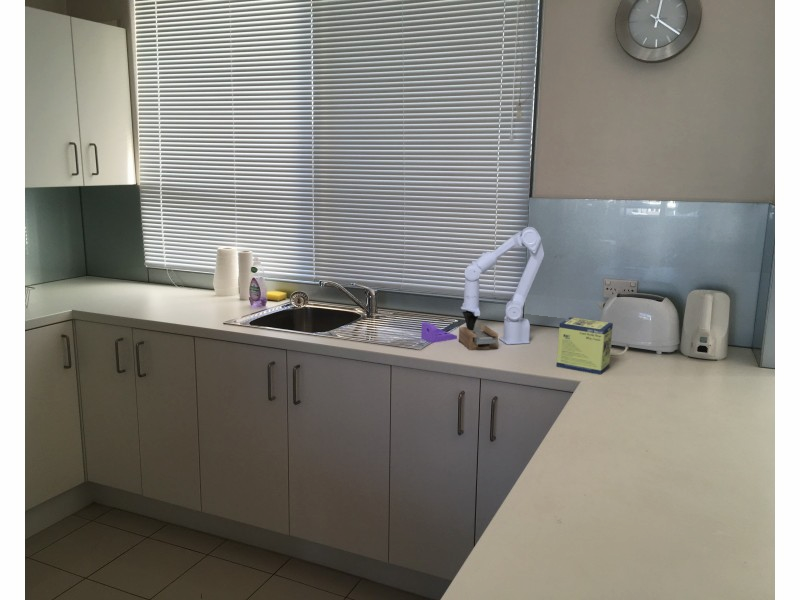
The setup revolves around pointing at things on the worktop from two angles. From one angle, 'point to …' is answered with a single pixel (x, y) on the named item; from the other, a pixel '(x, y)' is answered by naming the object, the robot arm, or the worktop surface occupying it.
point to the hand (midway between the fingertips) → (470, 330)
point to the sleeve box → (467, 336)
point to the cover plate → (483, 338)
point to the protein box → (584, 345)
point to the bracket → (435, 333)
